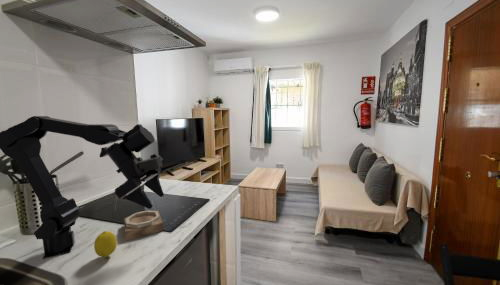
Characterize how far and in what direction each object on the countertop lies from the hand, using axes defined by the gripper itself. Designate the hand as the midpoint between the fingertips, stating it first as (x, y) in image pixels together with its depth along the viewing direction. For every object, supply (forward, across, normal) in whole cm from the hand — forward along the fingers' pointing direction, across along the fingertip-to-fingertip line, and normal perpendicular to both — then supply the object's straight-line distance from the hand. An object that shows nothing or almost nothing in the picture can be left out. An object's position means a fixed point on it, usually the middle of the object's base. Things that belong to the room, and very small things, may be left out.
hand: (157, 201), depth 67 cm
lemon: (+5, -4, +20) cm, 21 cm away
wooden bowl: (+7, +12, +17) cm, 22 cm away
